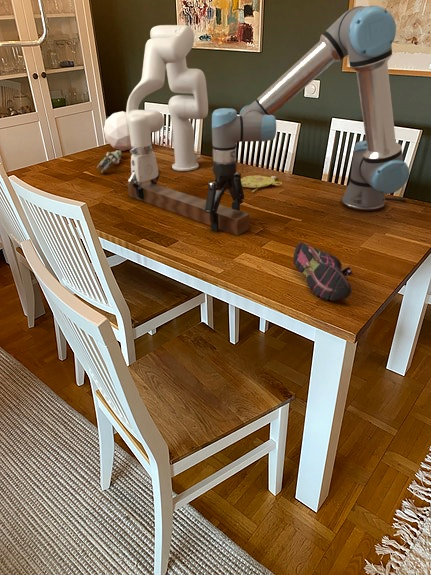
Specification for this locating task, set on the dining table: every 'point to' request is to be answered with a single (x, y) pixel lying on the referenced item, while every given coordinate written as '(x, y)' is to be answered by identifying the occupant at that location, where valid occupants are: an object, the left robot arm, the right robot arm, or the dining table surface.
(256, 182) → the decorative object
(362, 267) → the dining table surface
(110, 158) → the figurine
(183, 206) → the beam
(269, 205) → the dining table surface
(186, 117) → the left robot arm
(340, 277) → the athletic shoe
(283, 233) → the dining table surface
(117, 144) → the sphere
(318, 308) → the dining table surface
